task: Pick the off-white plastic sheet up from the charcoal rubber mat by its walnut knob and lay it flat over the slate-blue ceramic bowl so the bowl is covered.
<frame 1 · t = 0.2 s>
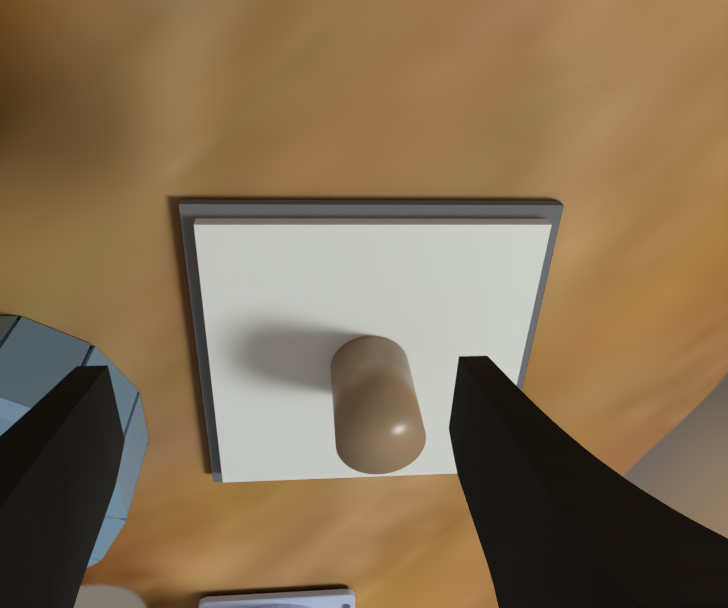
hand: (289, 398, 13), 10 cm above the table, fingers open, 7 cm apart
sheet: (368, 359, 24), resting on mat
bowl: (15, 420, 25), on the table
mat: (367, 353, 25), on the table
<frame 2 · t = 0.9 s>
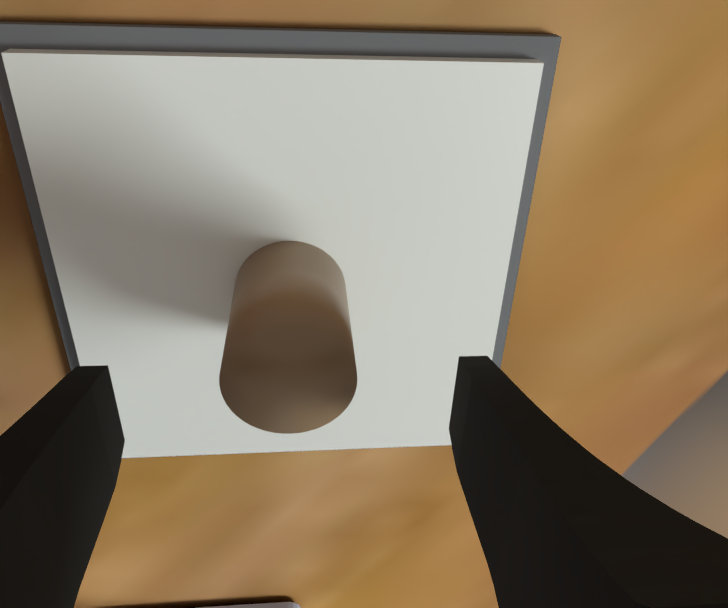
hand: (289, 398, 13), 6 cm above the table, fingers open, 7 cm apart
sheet: (290, 281, 18), resting on mat
mat: (291, 274, 18), on the table
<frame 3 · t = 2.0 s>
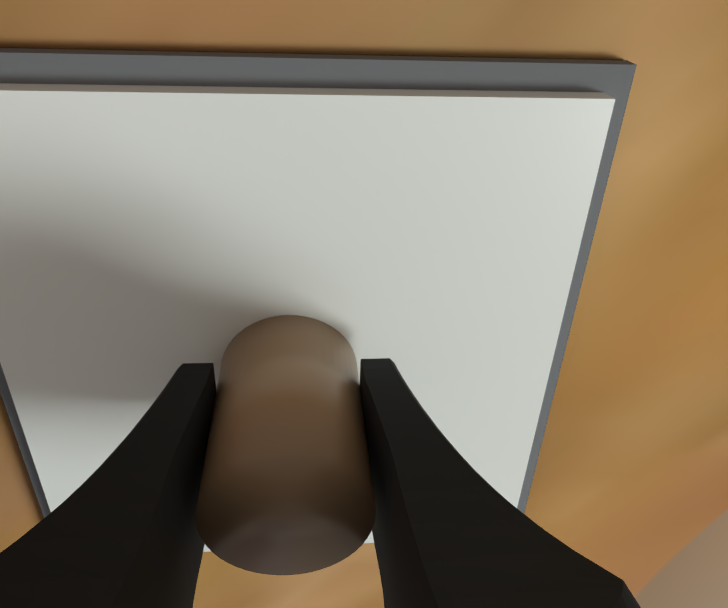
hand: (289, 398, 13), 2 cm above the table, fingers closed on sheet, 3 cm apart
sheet: (290, 358, 14), resting on mat, touching gripper
mat: (290, 348, 15), on the table
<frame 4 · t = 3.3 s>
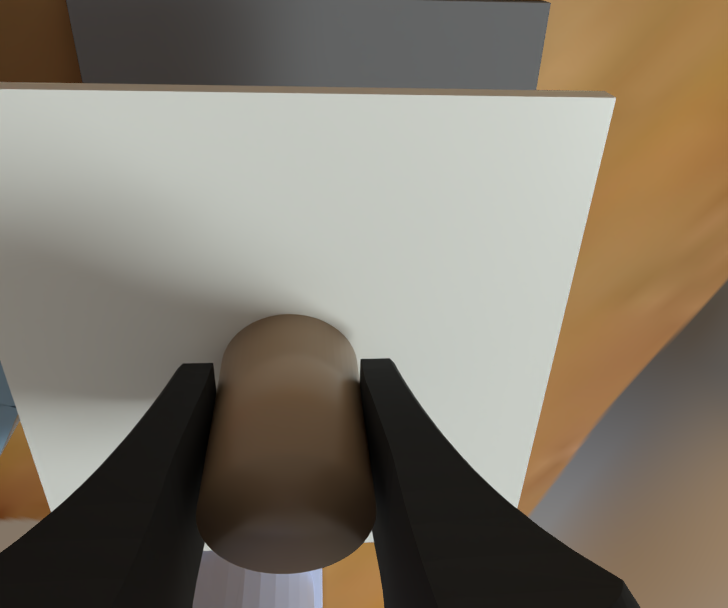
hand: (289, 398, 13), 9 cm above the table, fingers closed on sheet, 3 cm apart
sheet: (290, 357, 14), point 7 cm above the table, touching gripper
mat: (318, 215, 21), on the table
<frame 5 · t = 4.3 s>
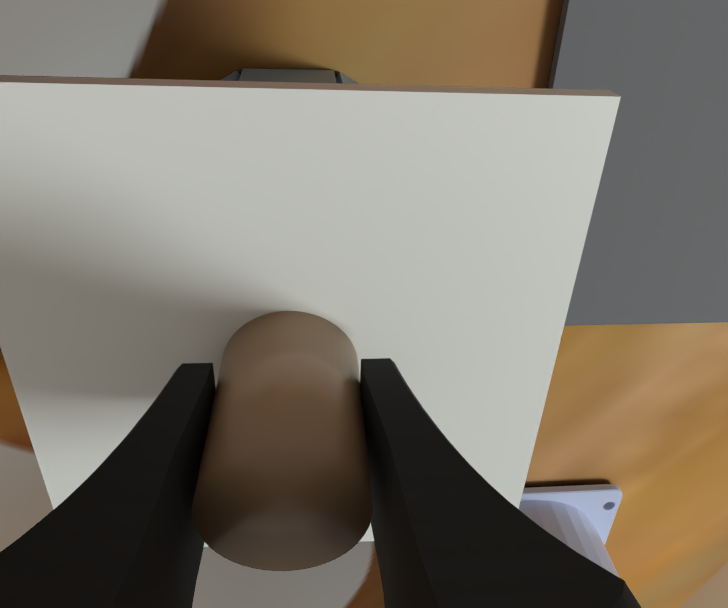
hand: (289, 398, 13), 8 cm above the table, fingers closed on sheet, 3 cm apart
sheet: (291, 354, 14), point 7 cm above the table, touching gripper
bowl: (293, 233, 20), on the table
when the fingers open (6 cm above the table, at t = 4.9 s): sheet stays where it is, resting on bowl.
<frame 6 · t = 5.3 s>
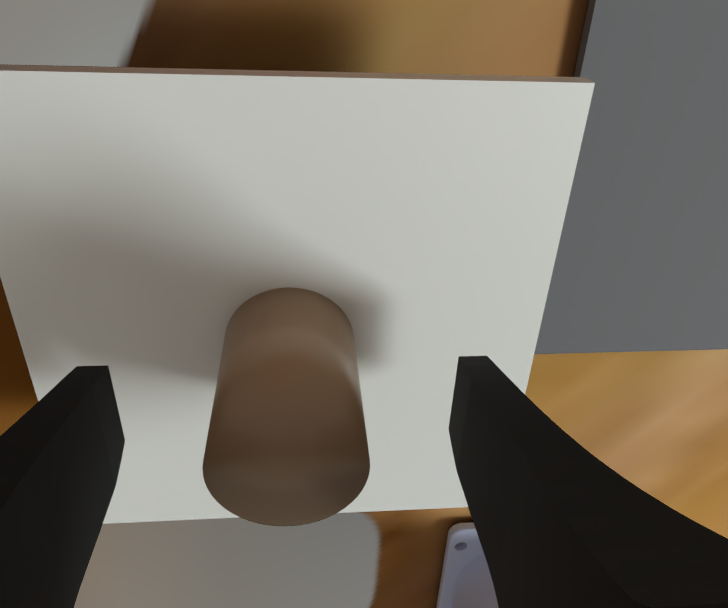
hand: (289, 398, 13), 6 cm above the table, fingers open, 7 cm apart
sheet: (290, 330, 15), point 4 cm above the table, touching bowl
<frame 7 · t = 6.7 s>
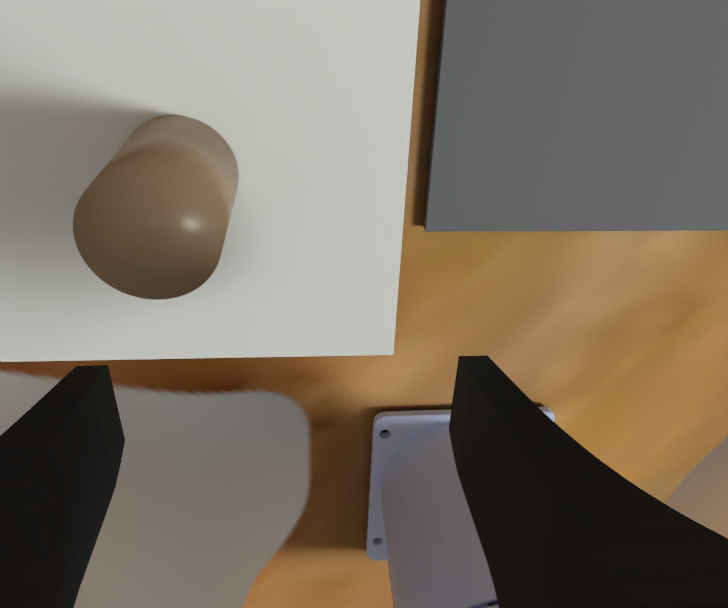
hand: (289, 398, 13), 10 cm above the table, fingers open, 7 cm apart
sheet: (183, 166, 17), point 4 cm above the table, touching bowl
mat: (641, 39, 20), on the table
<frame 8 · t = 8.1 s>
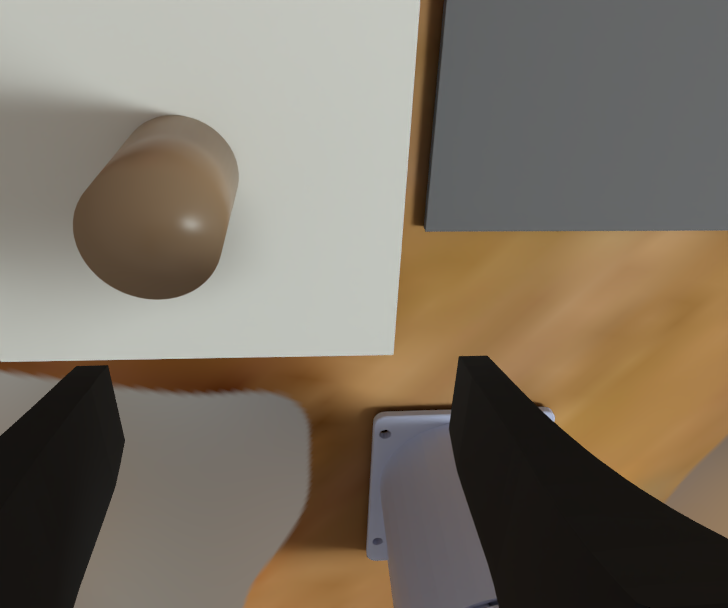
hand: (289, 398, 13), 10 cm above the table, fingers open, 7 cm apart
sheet: (183, 166, 17), point 4 cm above the table, touching bowl
mat: (641, 39, 20), on the table
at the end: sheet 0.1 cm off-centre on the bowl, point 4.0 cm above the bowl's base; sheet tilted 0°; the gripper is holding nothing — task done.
